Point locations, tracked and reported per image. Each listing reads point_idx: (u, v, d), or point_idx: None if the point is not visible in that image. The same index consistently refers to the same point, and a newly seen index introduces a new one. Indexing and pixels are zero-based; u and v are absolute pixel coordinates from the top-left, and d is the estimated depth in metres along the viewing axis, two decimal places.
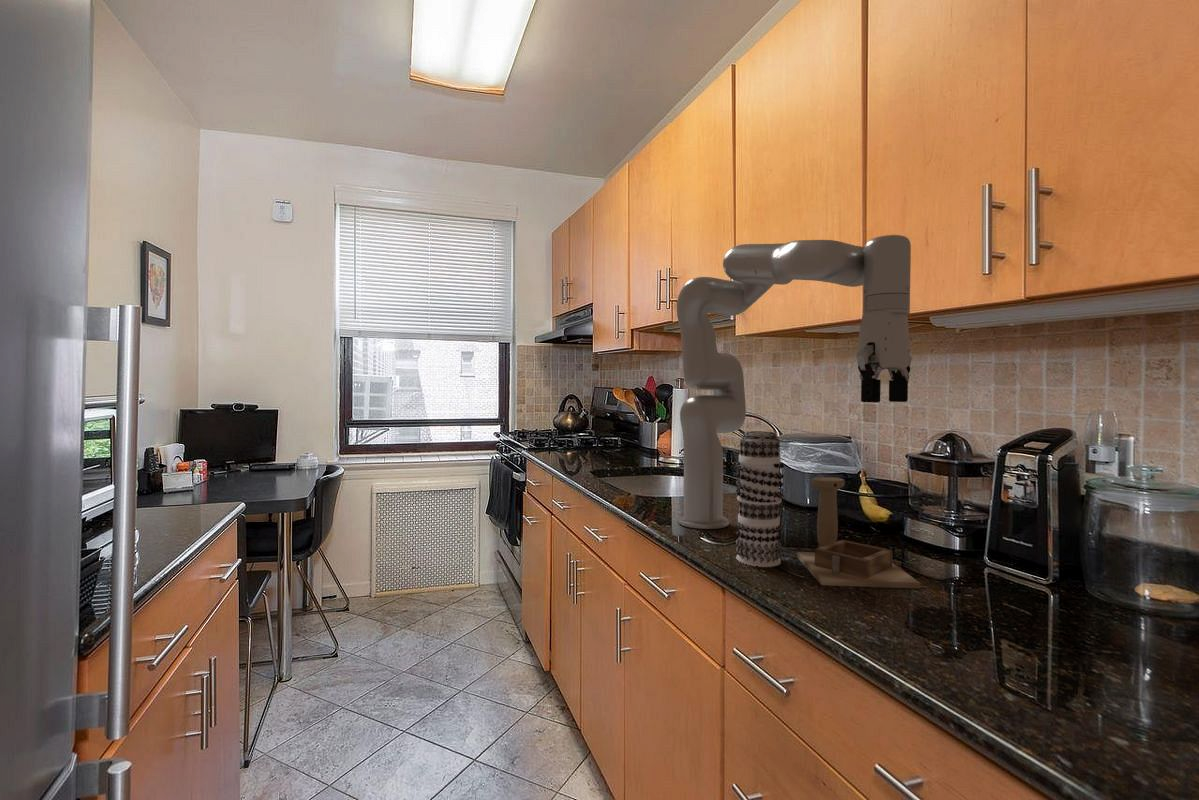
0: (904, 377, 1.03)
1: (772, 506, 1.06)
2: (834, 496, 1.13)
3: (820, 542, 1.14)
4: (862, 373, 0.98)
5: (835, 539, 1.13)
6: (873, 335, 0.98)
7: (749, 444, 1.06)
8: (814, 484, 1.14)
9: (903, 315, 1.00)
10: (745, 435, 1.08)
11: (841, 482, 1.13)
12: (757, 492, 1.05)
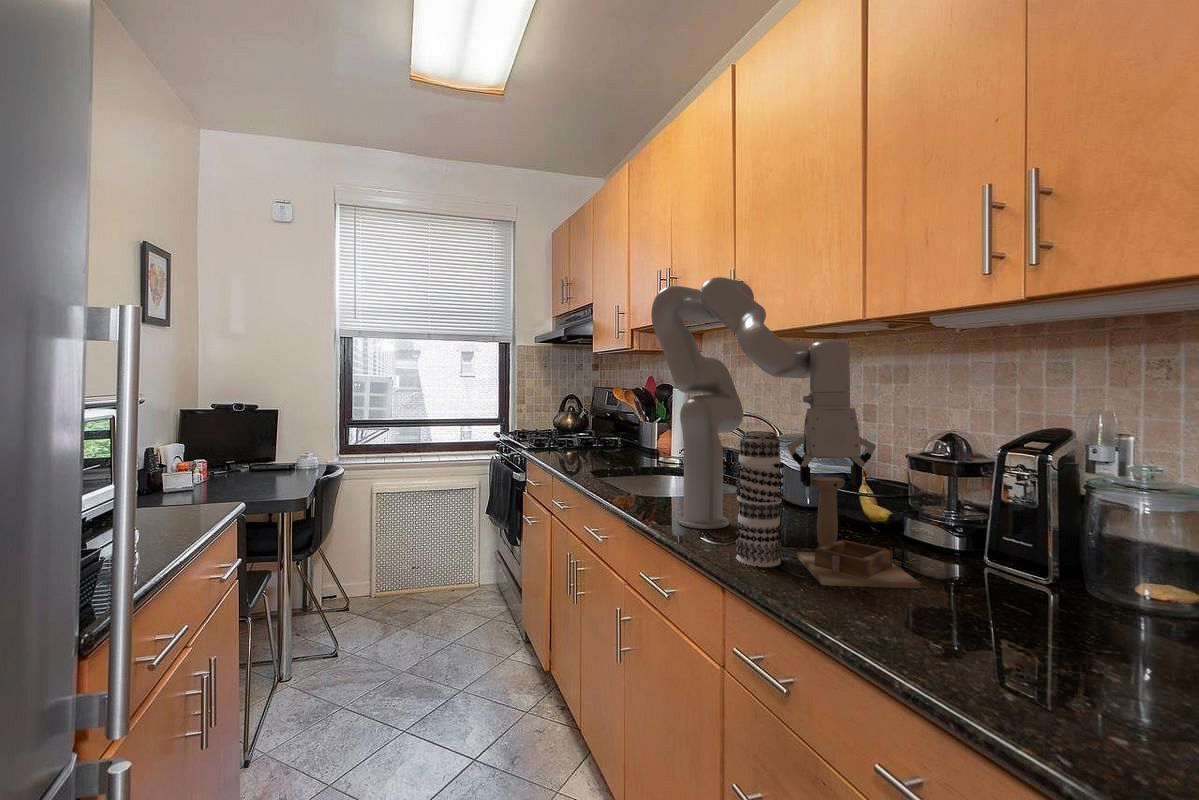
0: None
1: (772, 506, 1.06)
2: (834, 496, 1.13)
3: (820, 542, 1.14)
4: (866, 461, 1.13)
5: (835, 539, 1.13)
6: None
7: (749, 444, 1.06)
8: (814, 484, 1.14)
9: None
10: (745, 435, 1.08)
11: (841, 482, 1.13)
12: (757, 492, 1.05)
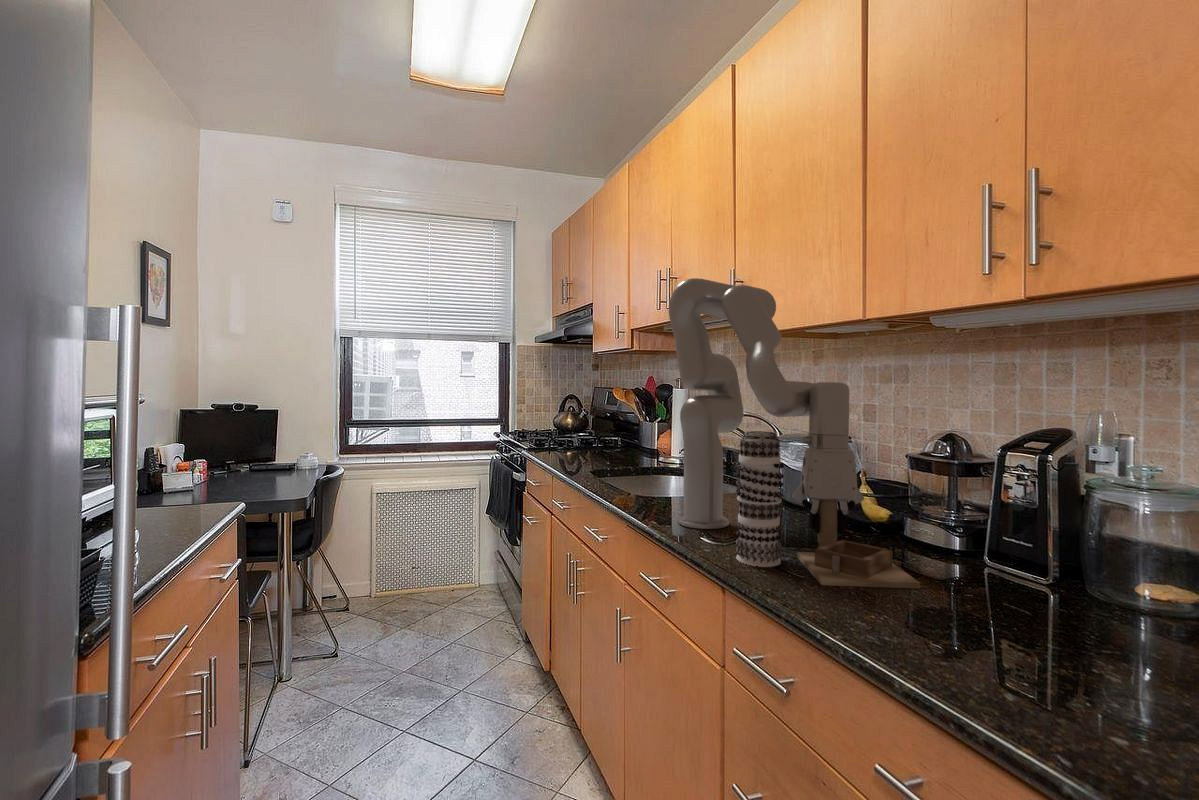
0: None
1: (772, 506, 1.06)
2: None
3: (820, 542, 1.14)
4: None
5: (835, 539, 1.13)
6: None
7: (749, 444, 1.06)
8: None
9: None
10: (745, 435, 1.08)
11: None
12: (757, 492, 1.05)
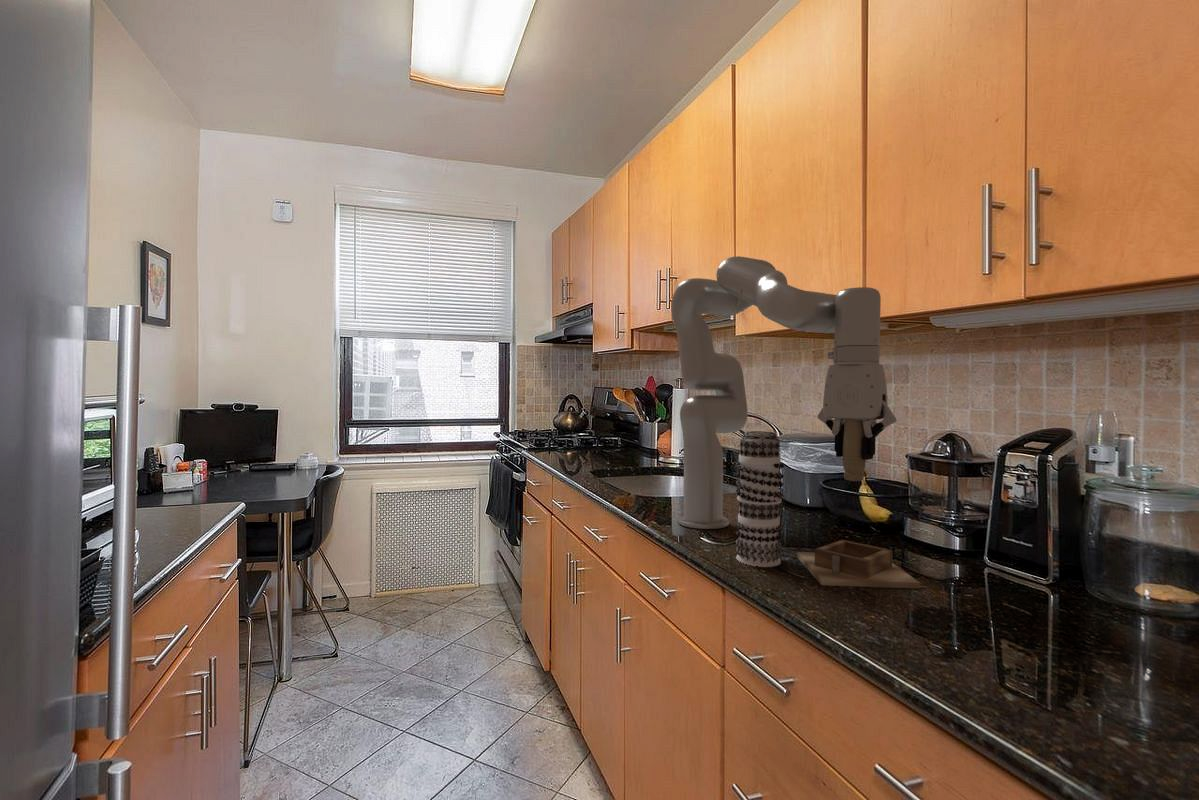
0: None
1: (772, 506, 1.06)
2: None
3: (843, 467, 1.03)
4: (878, 432, 0.99)
5: (857, 465, 1.01)
6: (884, 387, 0.99)
7: (749, 444, 1.06)
8: None
9: None
10: (745, 435, 1.08)
11: None
12: (757, 492, 1.05)
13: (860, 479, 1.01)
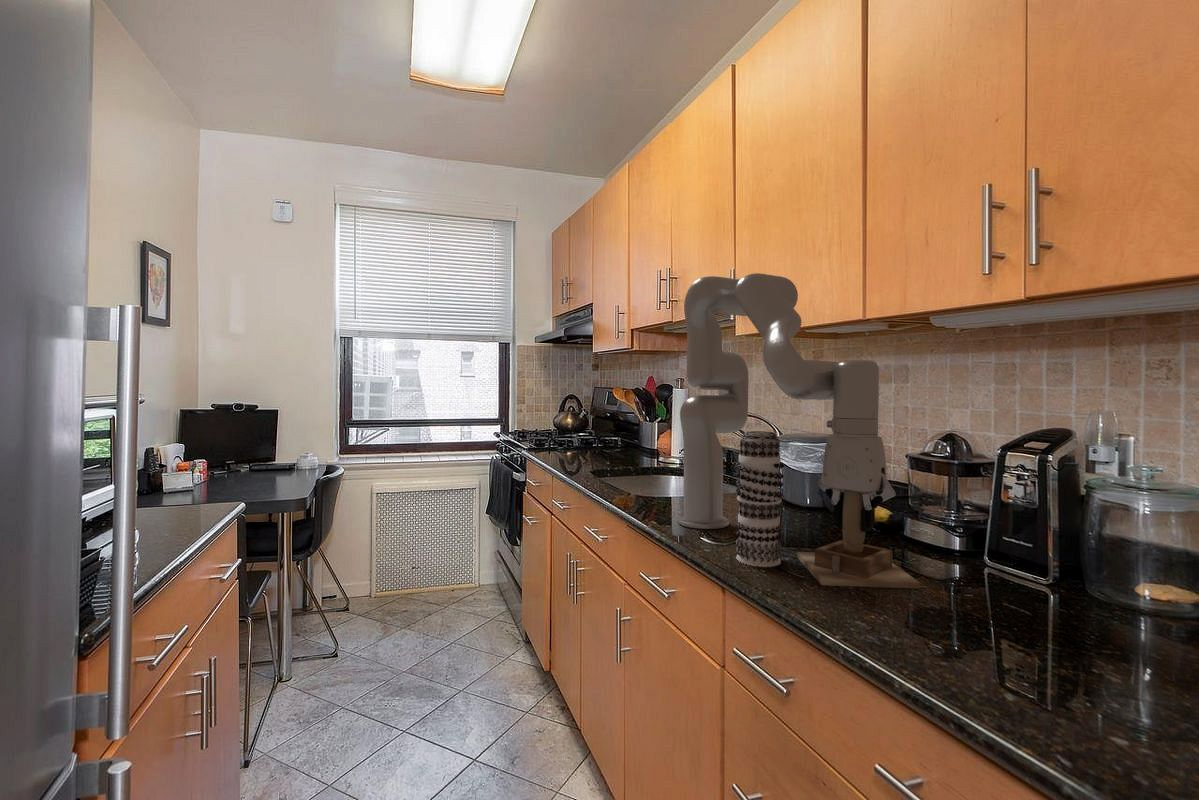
0: None
1: (772, 506, 1.06)
2: None
3: (843, 537, 1.03)
4: (877, 504, 0.99)
5: (857, 536, 1.01)
6: (883, 460, 0.99)
7: (749, 444, 1.06)
8: None
9: None
10: (745, 435, 1.08)
11: None
12: (757, 492, 1.05)
13: (860, 550, 1.01)
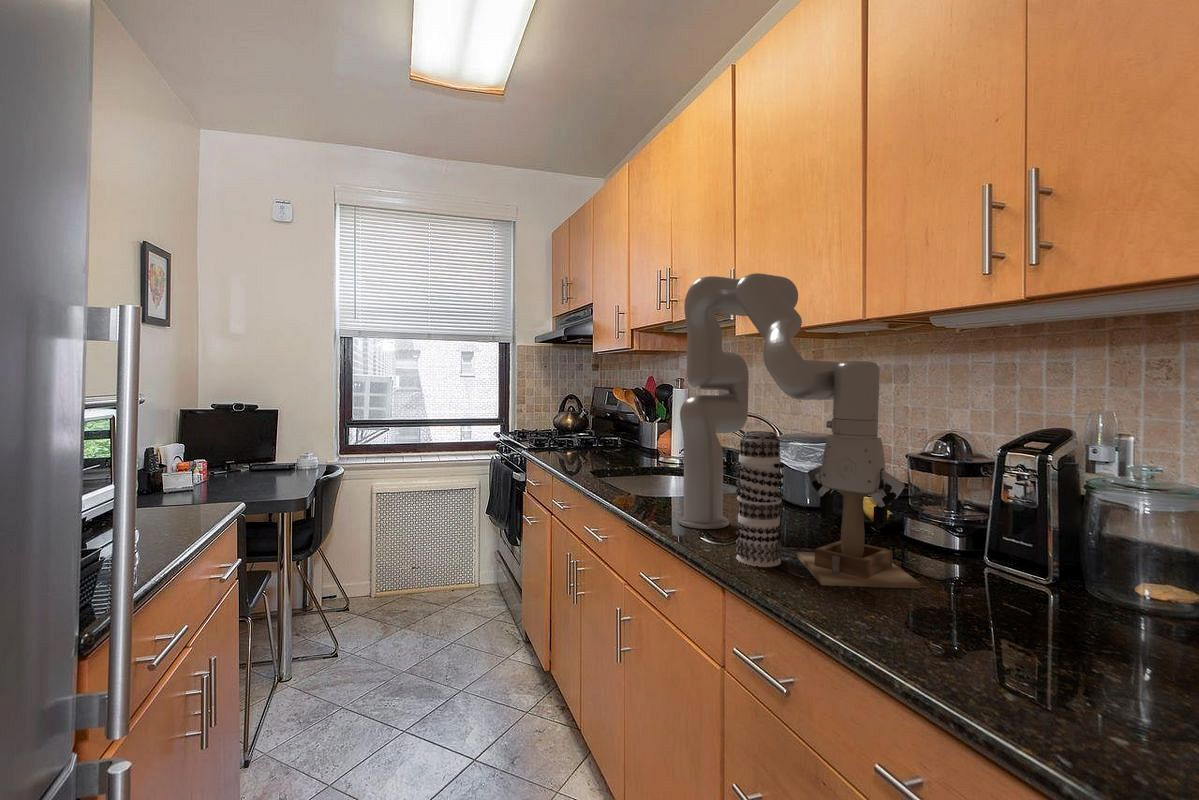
0: (830, 492, 1.07)
1: (772, 506, 1.06)
2: (854, 503, 1.01)
3: None
4: (890, 501, 0.97)
5: (855, 551, 1.01)
6: (882, 461, 0.99)
7: (749, 444, 1.06)
8: None
9: None
10: (745, 435, 1.08)
11: None
12: (757, 492, 1.05)
13: None
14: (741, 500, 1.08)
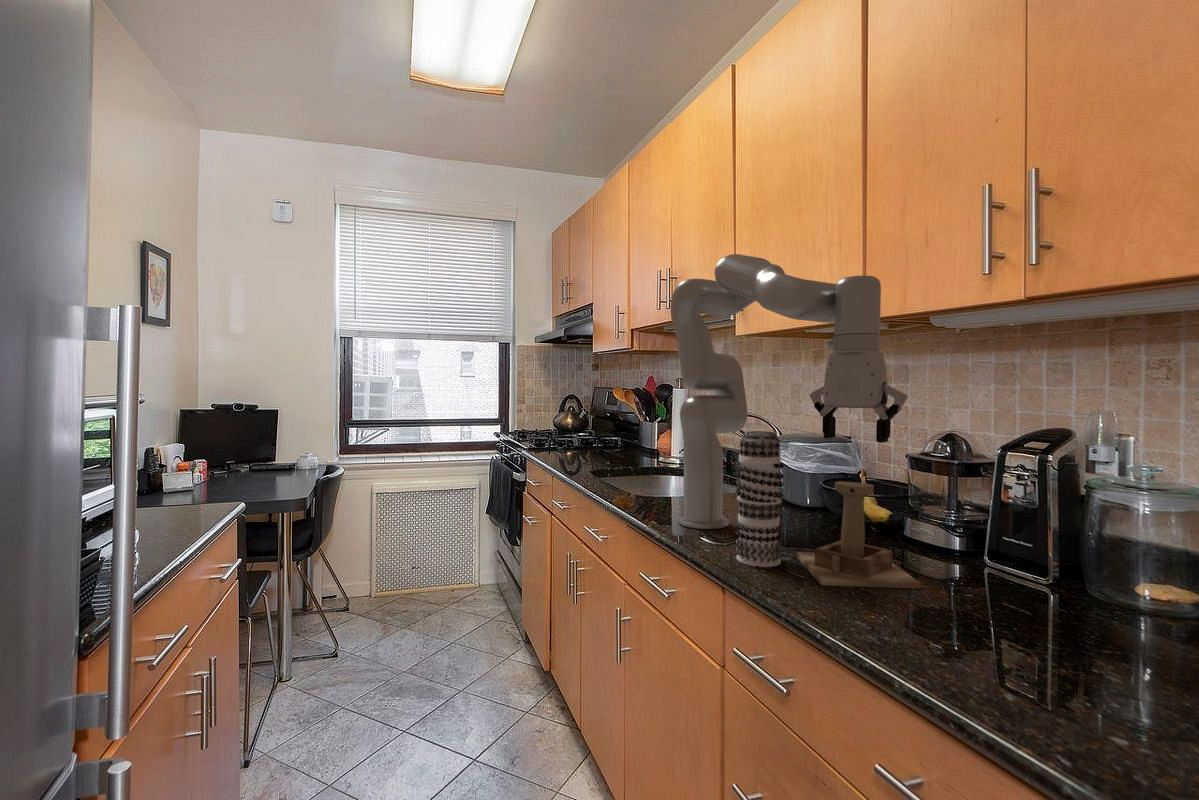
0: (832, 413, 1.07)
1: (772, 506, 1.06)
2: (855, 503, 1.01)
3: (842, 552, 1.04)
4: (893, 414, 0.97)
5: (855, 552, 1.01)
6: (885, 375, 0.99)
7: (749, 444, 1.06)
8: None
9: None
10: (745, 435, 1.08)
11: (861, 488, 1.00)
12: (757, 492, 1.05)
13: None
14: (741, 500, 1.08)
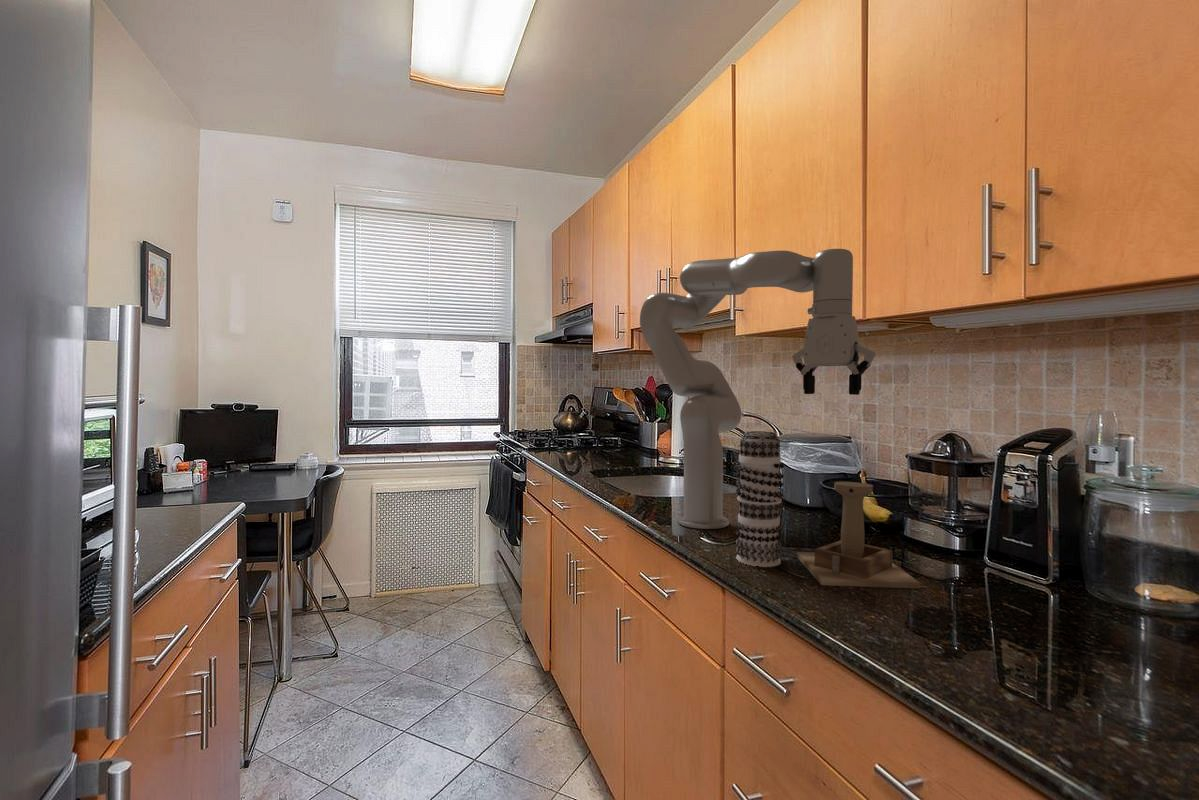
0: (812, 373, 1.20)
1: (772, 506, 1.06)
2: (854, 503, 1.01)
3: None
4: (863, 369, 1.11)
5: (855, 552, 1.01)
6: (856, 336, 1.12)
7: (749, 444, 1.06)
8: None
9: None
10: (745, 435, 1.08)
11: (861, 488, 1.00)
12: (757, 492, 1.05)
13: None
14: (741, 500, 1.08)
